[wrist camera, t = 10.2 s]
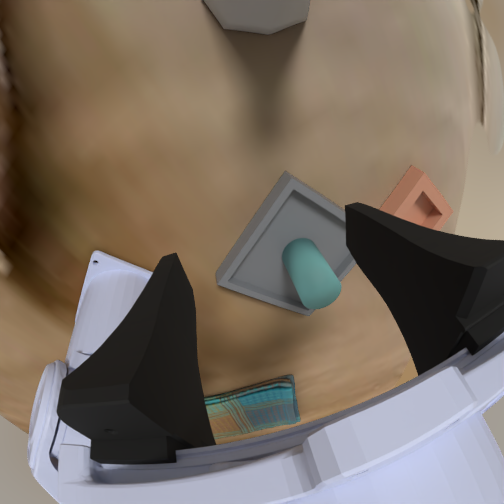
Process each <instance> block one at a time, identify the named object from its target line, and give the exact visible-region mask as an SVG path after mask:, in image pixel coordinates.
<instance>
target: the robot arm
mask: <svg viewBox="0 0 504 504" xmlns="http://www.w3.org/2000/svg"><path fill="white" fill-rule="evenodd" d="M345 221H346V246H347V248H348V249H349V251H350V253H351V255H352V257H353V258H354V260H355V262H356V263H357V265H358V266H359V267H360V269H361V270H362V271H363V273H364V274H365V275H366V277H367V278H368V279H369V280H370V282H371V283H372V284H373V286H374V287H375V288H376V290H377V291H378V293H379V294H380V295H381V297H382V298H383V300H384V301H385V303H386V304H387V306H388V308H389V309H390V311H391V313H392V315H393V317H394V319H395V320H396V322H397V324H398V326H399V329H400V331H401V333H402V335H403V337H404V339H405V341H406V344H407V346H408V349H409V351H410V353H411V356H412V358H413V361H414V364H415V367H416V370H417V373H418V377H415V378H414V379H412V380H410V381H408V382H406V383H404V384H402V385H400V386H398V387H396V388H394V389H392V390H390V391H388V392H385V393H383V394H381V395H379V396H377V397H374V398H372V399H370V400H368V401H365V402H363V403H360V404H358V405H356V406H353V407H351V408H348V409H346V410H343V411H340V412H338V413H335V414H332V415H329V416H327V417H324V418H321V419H318V420H315V421H312V422H309V423H306V424H302V425H299V426H296V427H293V428H289V429H286V430H282V431H278V432H275V433H271V434H267V435H263V436H258V437H254V438H250V439H245V440H240V441H235V442H230V443H225V444H219V445H216V443H215V440H214V436H213V433H212V429H211V425H210V421H209V417H208V413H207V409H206V405H205V400H204V395H203V390H202V385H201V379H200V373H199V367H198V359H197V336H196V308H195V301H194V295H193V289H192V287H191V285H190V282H189V280H188V278H187V276H186V274H185V271H184V269H183V267H182V265H181V262H180V260H179V258H178V256H177V253H173V254H170V255H167V256H163V257H162V258H161V260H160V261H159V263H158V265H157V267H156V268H155V270H154V272H151V271H148V270H145V269H143V268H140V267H138V266H135V265H133V264H130V263H128V262H125V261H123V260H120V259H118V258H115V257H113V256H110V255H108V254H106V253H103V252H101V251H94V252H93V254H92V257H91V260H90V263H89V267H88V270H87V274H86V277H85V281H84V285H83V289H82V293H81V297H80V301H79V305H78V309H77V314H76V319H75V327H74V330H73V333H72V337H71V340H70V344H69V348H68V352H67V356H66V360H65V363H63V362H62V361H60V360H56V361H55V362H53V363H50V364H48V365H47V366H46V368H45V370H44V372H43V374H42V377H41V380H40V383H39V386H38V389H37V393H36V396H35V400H34V404H33V409H32V414H31V420H30V427H29V441H28V447H27V458H28V463H29V466H30V467H31V472H32V474H33V476H34V478H35V479H36V480H37V481H38V483H40V485H41V486H42V487H43V488H44V489H45V490H46V491H47V492H48V493H49V494H50V495H51V496H52V497H53V498H54V499H55V500H56V501H57V502H58V503H59V504H504V457H503V455H502V453H501V451H500V449H499V447H498V445H497V443H496V441H495V439H494V437H493V435H492V433H491V431H490V429H489V427H488V425H487V423H486V422H485V420H484V418H483V416H482V414H483V413H484V412H485V411H486V410H488V409H489V408H490V407H491V406H492V405H494V404H495V403H496V402H497V401H498V400H499V399H500V398H501V397H502V396H504V241H503V240H485V239H477V238H470V237H464V236H458V235H454V234H449V233H445V232H441V231H437V230H434V229H430V228H427V227H424V226H421V225H418V224H415V223H412V222H409V221H406V220H404V219H401V218H399V217H396V216H394V215H391V214H389V213H386V212H384V211H381V210H378V209H376V208H373V207H371V206H368V205H365V204H362V203H358V202H357V203H353V204H349V205H345ZM94 260H96V261H98V263H96V262H95V261H94Z"/></svg>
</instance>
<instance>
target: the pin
mask: <svg viewBox="0 0 504 504" xmlns="http://www.w3.org/2000/svg"><path fill="white" fill-rule="evenodd" d="M282 260H283V263H284V265H285V267H286V269H287V271H288V273H289V275H290V277H291V280H292V282H293V284H294V286H295V288H296V290H297V292H298V294H299V297H300V299H301V301H302V303H303V305H304V306H305V307H307V308H309V309H320V308H324V307H326V306H328V305H330V304H331V303H332V302H334V301H335V300H336V298H337V297H338V296H339V294H340V292H341V283H340V281H339V280H338V278H337V277H336V275H335V274H334V272H333V271H332V269H331V267H330V266H329V264H328V263H327V261H326V260H325V258H324V257H323V255H322V254H321V252H320V251H319V249H318V248H317V246H316V245H315V244H314V242H313V241H312V240H310V239H307V238H298V239H295V240H293V241H291V242H290V243H289V244H288V245H287V246H286V247H285V248H284V250H283V253H282Z"/></svg>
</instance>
